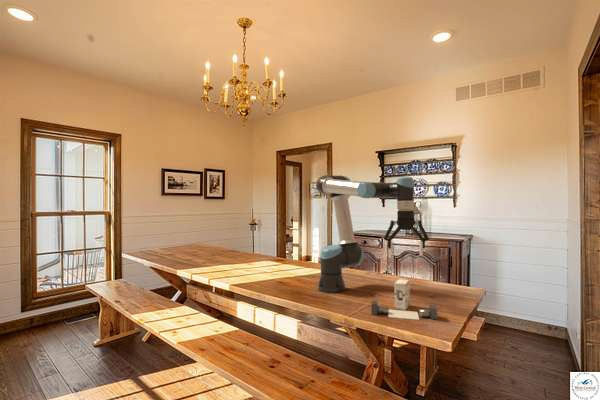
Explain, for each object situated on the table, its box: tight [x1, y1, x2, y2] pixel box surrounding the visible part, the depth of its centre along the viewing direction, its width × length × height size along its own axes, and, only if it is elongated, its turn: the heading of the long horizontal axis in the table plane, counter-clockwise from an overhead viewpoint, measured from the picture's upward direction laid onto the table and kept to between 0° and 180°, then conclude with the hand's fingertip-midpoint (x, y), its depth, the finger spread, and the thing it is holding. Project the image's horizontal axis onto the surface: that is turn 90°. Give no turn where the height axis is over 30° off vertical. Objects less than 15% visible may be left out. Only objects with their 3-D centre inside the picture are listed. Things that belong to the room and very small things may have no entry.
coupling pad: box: [388, 309, 420, 321], centre depth 134 cm, size 12×9×1 cm
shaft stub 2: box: [418, 304, 438, 321], centre depth 131 cm, size 6×5×4 cm
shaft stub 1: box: [370, 299, 388, 316], centre depth 136 cm, size 6×5×4 cm
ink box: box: [393, 278, 411, 311], centre depth 144 cm, size 9×5×12 cm, turn 148°
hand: (406, 255), depth 148 cm, fingers open, 13 cm apart
